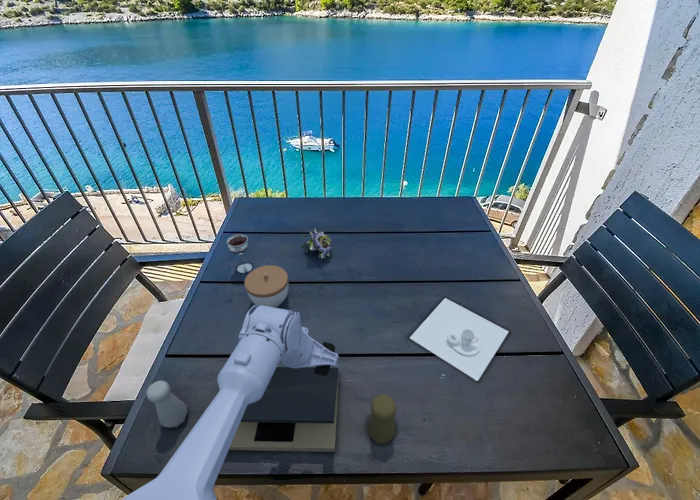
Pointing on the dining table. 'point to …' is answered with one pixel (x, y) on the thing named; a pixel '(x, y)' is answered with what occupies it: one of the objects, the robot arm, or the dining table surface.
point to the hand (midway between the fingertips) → (307, 359)
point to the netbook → (286, 436)
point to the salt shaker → (167, 404)
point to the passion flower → (319, 244)
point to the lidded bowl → (267, 285)
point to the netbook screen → (296, 397)
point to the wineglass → (239, 250)
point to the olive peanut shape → (382, 419)
